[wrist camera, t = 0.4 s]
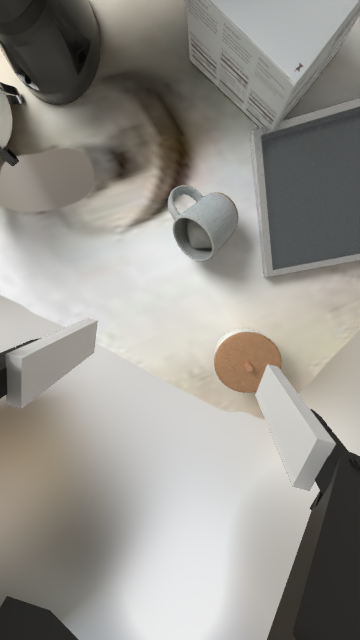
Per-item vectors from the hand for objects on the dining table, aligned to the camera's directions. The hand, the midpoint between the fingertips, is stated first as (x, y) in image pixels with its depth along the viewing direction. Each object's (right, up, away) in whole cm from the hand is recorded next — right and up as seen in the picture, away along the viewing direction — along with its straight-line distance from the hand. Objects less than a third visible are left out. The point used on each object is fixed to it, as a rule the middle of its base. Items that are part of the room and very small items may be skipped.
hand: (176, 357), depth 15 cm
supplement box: (+12, +42, +14) cm, 46 cm away
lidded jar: (+12, -3, +25) cm, 28 cm away
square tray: (+24, +23, +17) cm, 38 cm away
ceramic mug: (+4, +20, +21) cm, 29 cm away
